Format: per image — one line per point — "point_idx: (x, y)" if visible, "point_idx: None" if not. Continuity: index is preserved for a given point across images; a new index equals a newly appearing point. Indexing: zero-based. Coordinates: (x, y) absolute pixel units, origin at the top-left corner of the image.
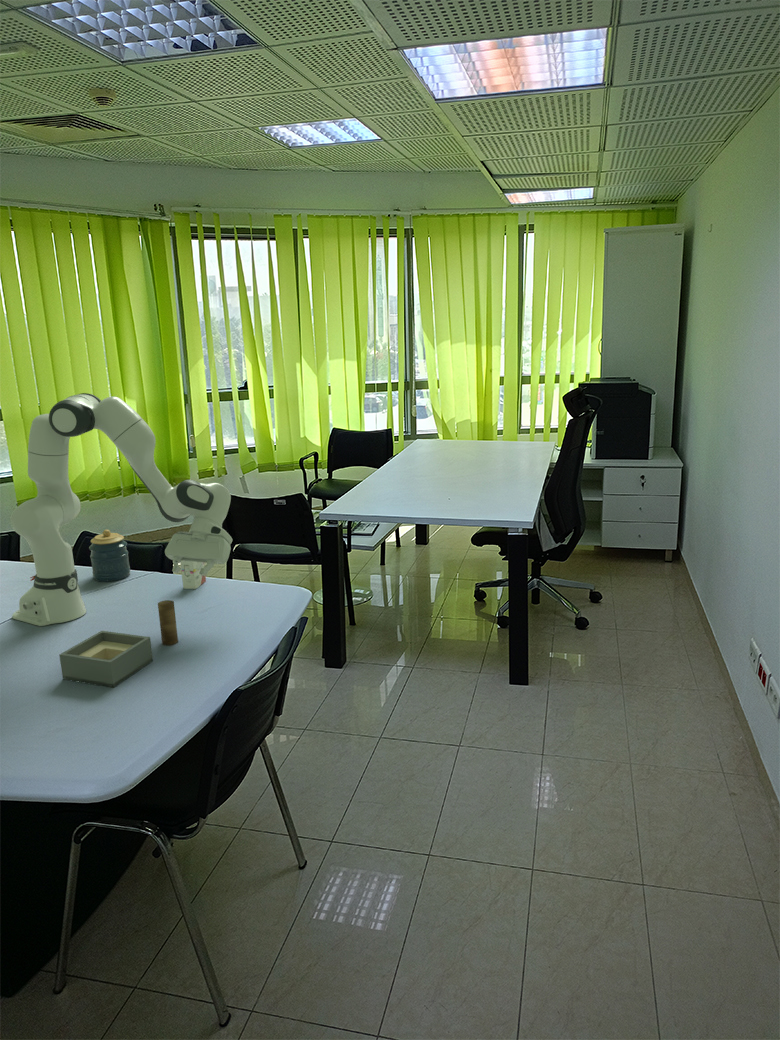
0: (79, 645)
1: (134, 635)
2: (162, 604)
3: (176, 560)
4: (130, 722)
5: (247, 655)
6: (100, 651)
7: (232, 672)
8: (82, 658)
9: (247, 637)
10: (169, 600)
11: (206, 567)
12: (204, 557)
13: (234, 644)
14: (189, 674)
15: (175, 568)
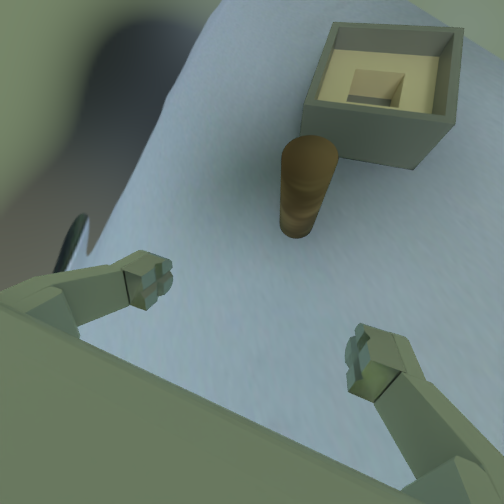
0: (450, 60)
1: (346, 108)
2: (316, 144)
3: (450, 460)
4: (262, 26)
5: (141, 175)
6: (400, 98)
7: (161, 126)
8: (399, 26)
9: (142, 245)
10: (305, 178)
11: (95, 266)
12: (15, 315)
13: (164, 214)
14: (222, 117)
15: (381, 339)
